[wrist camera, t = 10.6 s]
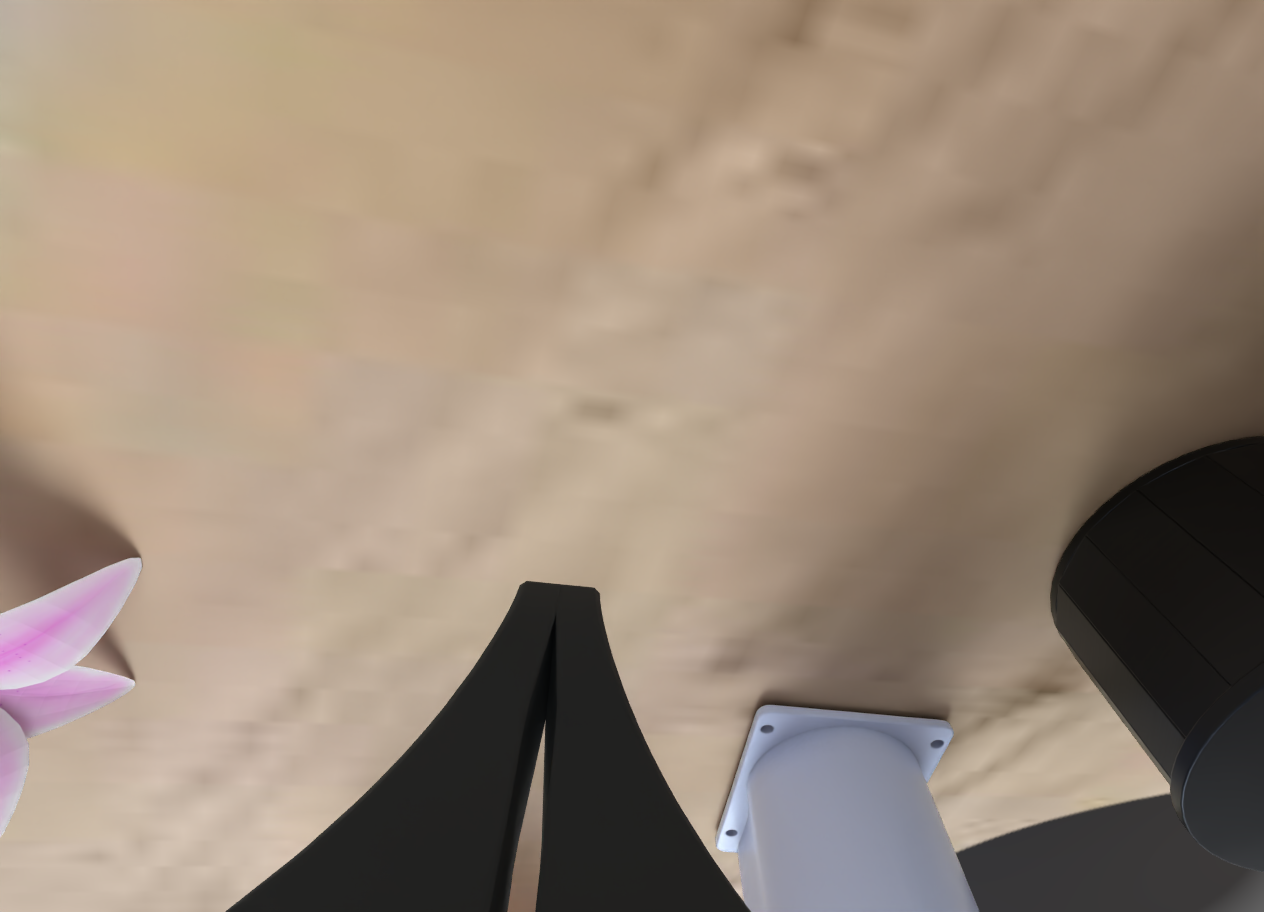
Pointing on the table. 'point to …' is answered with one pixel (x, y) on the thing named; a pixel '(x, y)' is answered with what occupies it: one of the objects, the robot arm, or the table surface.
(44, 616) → the lily
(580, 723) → the robot arm
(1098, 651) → the pot
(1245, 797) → the pot lid
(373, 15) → the table surface
